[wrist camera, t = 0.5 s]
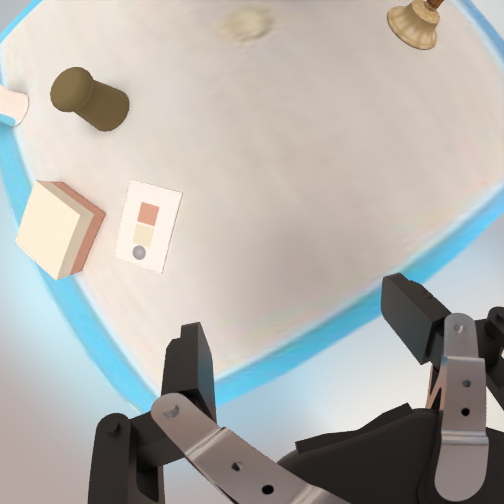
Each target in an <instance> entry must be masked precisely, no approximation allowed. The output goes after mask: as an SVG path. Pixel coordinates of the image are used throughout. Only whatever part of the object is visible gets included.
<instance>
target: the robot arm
mask: <svg viewBox="0 0 504 504" xmlns="http://www.w3.org/2000/svg"><path fill="white" fill-rule="evenodd" d="M381 311H382V314H383V317H384V318H385V320H386V321H387V322H388V323H389V324H390V326H391V327H392V328H393V330H394V331H395V332H396V333H397V335H398V336H399V337H400V338H401V340H402V341H403V342H404V343H405V345H406V346H407V347H408V349H409V350H410V351H411V353H412V354H413V355H414V357H415V358H416V359H417V361H418V362H419V363H420V365H423V364H424V363H427V362H429V361H431V363H432V366H431V372H430V381H429V389H428V396H427V403H426V406H425V408H417V409H411V407H410V406H409V404H408V403H405V404H403V405H401V406H399V407H396V408H394V409H392V410H389V411H387V412H385V413H382V414H381V415H380V416H378V417H377V418H375V419H374V420H373V421H371V422H369V423H368V424H366V425H365V426H363V427H362V428H360V429H358V430H355V431H347V432H338V433H327V434H322V435H319V436H315V437H312V438H308V439H305V440H301V441H297V442H295V445H296V450H294V451H292V452H290V453H289V454H287V455H286V456H284V457H283V458H282V459H280V460H279V461H278V462H277V463H275V462H274V461H272V460H271V459H269V458H268V457H267V456H265V455H263V454H262V453H261V452H259V451H258V450H256V449H255V448H254V447H253V446H251V445H250V444H248V443H247V442H246V441H244V440H243V439H242V438H240V437H239V436H238V435H236V434H235V433H234V432H233V431H231V430H230V429H228V428H226V427H223V428H221V427H219V426H218V425H217V420H216V407H215V393H214V377H213V362H212V356H211V352H210V348H209V346H208V343H207V340H206V337H205V335H204V332H203V329H202V326H201V324H200V322H196V323H191V324H186V325H182V326H181V336H180V338H177V339H172V340H171V342H170V344H169V345H168V347H167V348H166V355H165V359H166V360H165V363H164V367H165V368H164V372H163V381H162V390H161V397H159V398H158V399H157V400H156V401H155V402H154V403H153V405H152V407H151V411H149V412H147V413H145V414H143V415H140V416H137V417H135V418H132V419H128V417H126V416H125V415H123V414H120V413H112V414H109V415H107V416H105V417H104V418H103V419H101V421H100V422H99V423H98V425H97V429H96V434H95V440H94V447H93V455H92V463H91V471H90V481H89V492H88V504H165V495H164V478H163V465H165V464H168V463H171V462H173V461H176V460H179V459H181V458H185V459H186V460H187V461H188V462H189V463H190V464H191V465H192V466H193V467H194V468H195V469H196V470H197V471H198V472H199V473H200V474H201V475H202V476H204V477H205V478H206V479H207V480H208V481H209V482H210V483H211V484H212V485H213V486H214V487H215V488H217V489H218V490H219V491H220V492H221V493H222V494H223V495H224V496H225V497H226V498H227V499H229V500H230V501H231V502H232V503H233V504H504V432H501V431H498V430H495V429H491V428H488V427H486V386H487V387H488V389H489V390H490V392H491V393H492V394H493V396H494V397H495V399H496V400H497V401H498V403H499V404H500V406H501V407H502V409H503V410H504V358H503V357H502V356H501V355H502V352H503V350H504V307H494V308H492V309H490V311H489V313H488V317H487V319H482V320H475V321H474V320H473V319H472V318H471V317H469V316H468V315H466V314H463V313H453V314H452V313H451V312H450V311H449V310H448V309H447V308H446V307H445V306H444V305H443V304H442V303H441V302H440V301H438V300H437V299H436V298H435V297H433V295H432V294H431V293H430V292H428V290H426V289H425V288H424V287H423V286H422V285H421V284H419V283H416V282H414V281H412V280H410V281H409V280H408V279H407V278H405V277H404V276H403V275H402V274H401V273H396V274H392V275H389V276H386V277H384V278H383V281H382V295H381Z"/></svg>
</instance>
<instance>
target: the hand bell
mask: <svg viewBox="0 0 504 504" xmlns="http://www.w3.org/2000/svg"><path fill="white" fill-rule="evenodd" d="M443 1H444V0H427V1H424V0H414V1H412V2H411V3H410V4H409V5H408V6H406V7H403V6H399V7H395V8H392V9H391V10H390V11H389V12H388V16H387V18H388V23H389V25H390V27H391V29H392V30H393V31H394V33H395V34H396V35H397V36H398V37H399V38H400V39H401V40H403V41H404V42H406V43H407V44H409V45H411V46H413V47H415V48H418V49H425V50H426V49H431V48H432V47H434V46H435V44H436V41H437V35H436V32H435V28H436V26H437V24H438V22H439V20H440V16H439V13H438V12H437V10H436V9H437V8H438V7H439V6H440V4H441V3H442V2H443Z"/></svg>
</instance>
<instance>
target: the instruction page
mask: <svg viewBox="0 0 504 504" xmlns="http://www.w3.org/2000/svg"><path fill="white" fill-rule="evenodd" d="M182 194H183V193H180V192H176V191H173V190H169V189H165V188H162V187H158V186H154V185H150V184H147V183H143V182H139V181H135V180H131V182H130V185H129V189H128V193H127V197H126V201H125V205H124V209H123V214H122V218H121V222H120V227H119V232H118V236H117V241H116V246H115V252H114V257H117V258H119V259H122V260H125V261H128V262H130V263H133V264H136V265H139V266H142V267H145V268H148V269H150V270H153V271H156V272H159V273H163V268H164V264H165V260H166V256H167V251H168V247H169V243H170V239H171V235H172V231H173V227H174V224H175V220H176V216H177V212H178V209H179V205H180V201H181V198H182Z"/></svg>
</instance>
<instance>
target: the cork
mask: <svg viewBox="0 0 504 504" xmlns="http://www.w3.org/2000/svg"><path fill="white" fill-rule="evenodd" d="M50 96H51V101H52V103H53V106H55V107H56V108H57V109H58V110H60V111H62V112H75V113H76V114H78V115H79V116H80V117H82V118H83V119H84V120H86V121H87V122H89V123H90V124H91V125H93V126H94V127H95V128H97V129H98V130H100V131H111V130H113V129H115V128H117V127H118V126H119V125H120V124H121V123H122V122H123V121H124V119H125V118H126V116H127V113H128V111H129V99H128V97H127V95H126V94H125V93H124V92H122V91H120V90H118V89H115V88H113V87H110V86H108V85H105V84H103V83H100V82H98V81H95V80H93V78H92V76H91V75H90V73H89V72H88V71H87V70H85V69H83V68H80V67H73V68H69V69H67V70H65V71H63V72H62V73H61V74H60V75H59V76H58V77H57V78H56V80H55V81H54V83H53V86H52V88H51V93H50Z"/></svg>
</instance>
